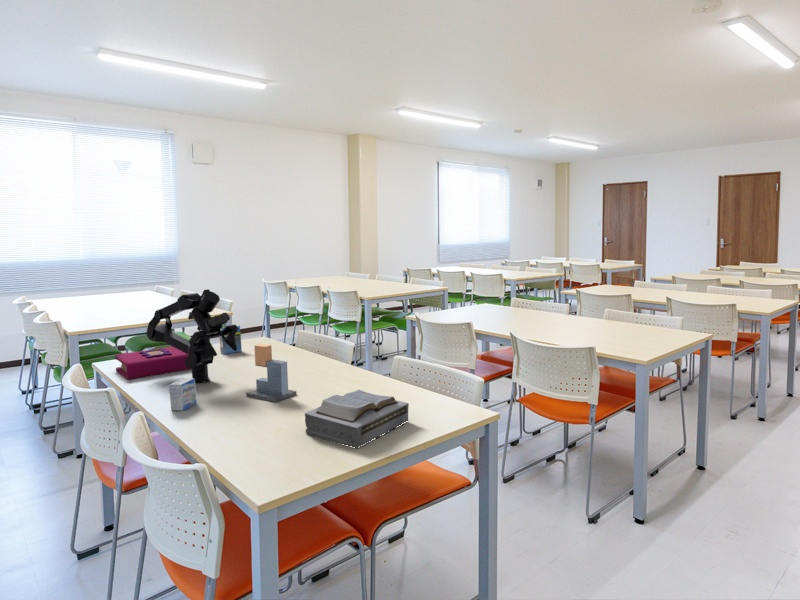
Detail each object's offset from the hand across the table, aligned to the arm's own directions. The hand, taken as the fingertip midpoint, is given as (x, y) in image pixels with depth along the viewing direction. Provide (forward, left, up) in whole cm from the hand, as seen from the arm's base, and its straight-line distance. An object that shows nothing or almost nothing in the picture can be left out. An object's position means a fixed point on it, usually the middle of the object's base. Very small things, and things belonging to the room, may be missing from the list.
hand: (226, 352), depth 197 cm
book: (-40, -22, -13) cm, 48 cm away
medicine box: (+17, -16, -13) cm, 27 cm away
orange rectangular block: (+16, +10, -2) cm, 19 cm away
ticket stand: (+18, +12, -13) cm, 25 cm away
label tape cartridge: (-58, +10, -13) cm, 60 cm away
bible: (+61, +27, -13) cm, 68 cm away
